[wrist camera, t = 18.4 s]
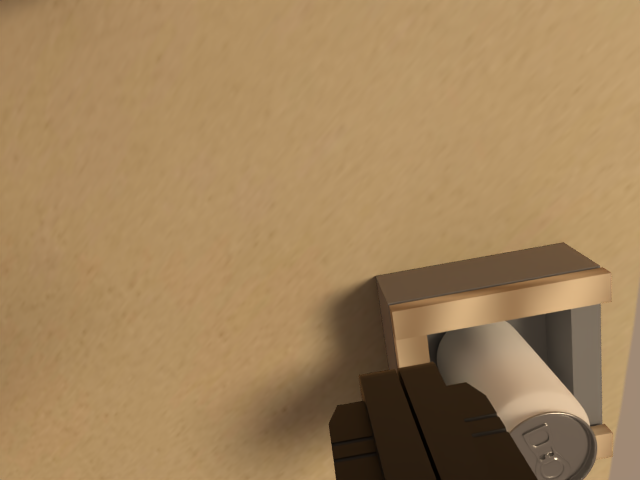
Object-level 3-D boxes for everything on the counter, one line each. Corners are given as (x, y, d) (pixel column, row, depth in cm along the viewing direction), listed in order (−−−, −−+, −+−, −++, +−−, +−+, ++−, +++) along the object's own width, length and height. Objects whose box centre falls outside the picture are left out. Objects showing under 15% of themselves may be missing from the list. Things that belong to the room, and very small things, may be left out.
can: (453, 402, 44) (514, 521, 33) (421, 335, 42) (473, 437, 31) (531, 367, 44) (619, 475, 32) (501, 297, 42) (584, 386, 30)
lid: (413, 482, 41) (463, 639, 30) (389, 305, 37) (436, 412, 26) (605, 447, 41) (725, 590, 30) (602, 267, 37) (742, 356, 26)
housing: (398, 436, 46) (412, 479, 41) (375, 276, 42) (387, 303, 37) (569, 405, 46) (602, 444, 41) (563, 242, 42) (599, 265, 37)
